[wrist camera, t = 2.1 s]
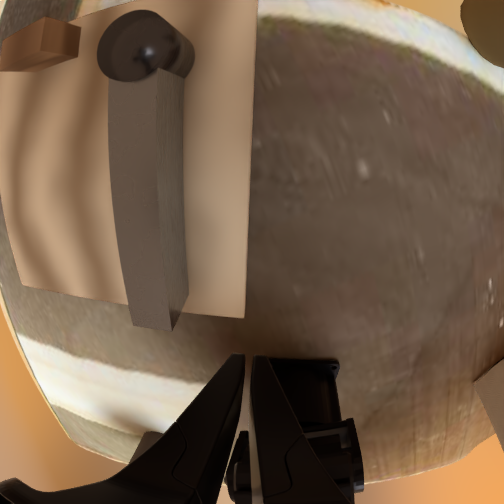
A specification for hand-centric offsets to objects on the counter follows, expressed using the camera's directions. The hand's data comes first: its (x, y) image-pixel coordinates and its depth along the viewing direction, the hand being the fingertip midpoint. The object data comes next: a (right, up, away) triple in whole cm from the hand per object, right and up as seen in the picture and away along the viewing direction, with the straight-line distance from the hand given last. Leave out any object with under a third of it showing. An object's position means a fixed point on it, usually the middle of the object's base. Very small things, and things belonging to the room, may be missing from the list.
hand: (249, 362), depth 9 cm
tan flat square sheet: (-11, +10, +8) cm, 17 cm away
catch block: (-14, +18, +4) cm, 23 cm away
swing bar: (-5, +8, +7) cm, 12 cm away
